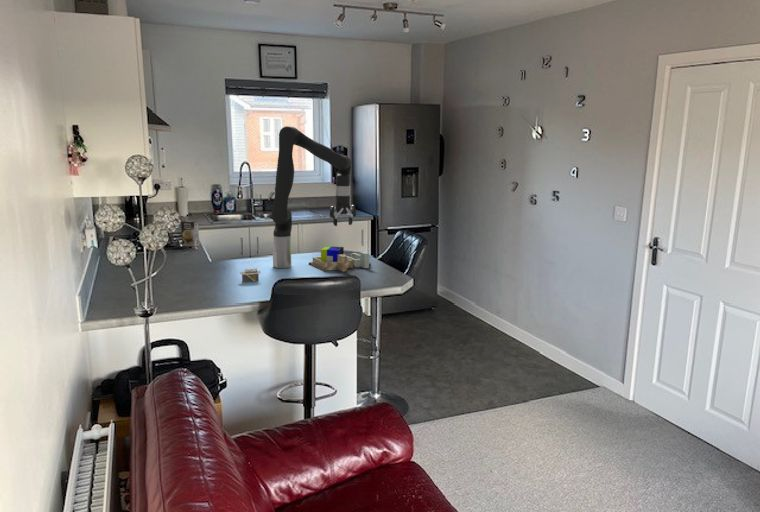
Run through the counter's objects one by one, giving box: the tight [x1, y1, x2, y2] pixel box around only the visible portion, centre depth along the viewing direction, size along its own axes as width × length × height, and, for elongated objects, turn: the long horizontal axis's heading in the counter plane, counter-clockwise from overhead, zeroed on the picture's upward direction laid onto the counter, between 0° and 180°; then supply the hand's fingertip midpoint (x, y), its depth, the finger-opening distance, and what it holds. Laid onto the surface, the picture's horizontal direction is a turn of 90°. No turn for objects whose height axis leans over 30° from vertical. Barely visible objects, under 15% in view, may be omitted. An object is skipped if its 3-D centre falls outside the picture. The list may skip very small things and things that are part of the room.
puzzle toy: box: [320, 245, 345, 263], centre depth 309 cm, size 10×10×10 cm
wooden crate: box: [239, 268, 261, 283], centre depth 276 cm, size 12×18×7 cm, turn 110°
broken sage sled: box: [344, 251, 370, 269], centre depth 315 cm, size 9×22×8 cm, turn 32°
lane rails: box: [308, 261, 372, 272], centre depth 314 cm, size 29×19×1 cm, turn 122°
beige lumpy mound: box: [312, 254, 353, 272], centre depth 307 cm, size 16×23×8 cm
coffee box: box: [180, 219, 200, 247], centre depth 363 cm, size 9×6×16 cm
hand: (342, 225), depth 297 cm, fingers open, 8 cm apart
